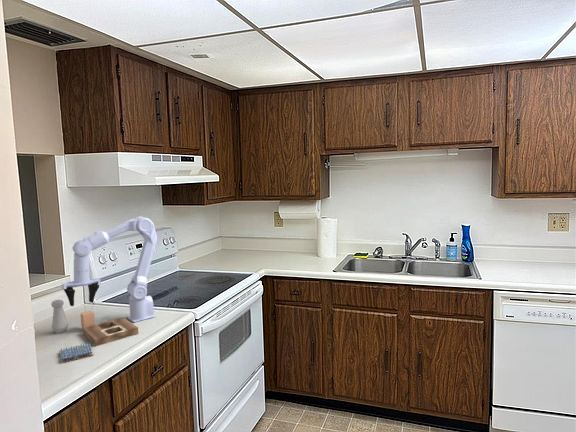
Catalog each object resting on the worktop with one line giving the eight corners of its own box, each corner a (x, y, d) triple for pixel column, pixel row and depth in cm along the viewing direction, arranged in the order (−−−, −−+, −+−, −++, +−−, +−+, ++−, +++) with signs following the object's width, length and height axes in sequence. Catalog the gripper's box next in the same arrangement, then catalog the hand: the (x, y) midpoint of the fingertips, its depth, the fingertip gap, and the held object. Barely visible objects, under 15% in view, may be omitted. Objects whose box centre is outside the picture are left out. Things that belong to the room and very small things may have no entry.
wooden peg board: (124, 323, 178) (123, 317, 178) (138, 333, 166) (138, 327, 166) (83, 334, 168) (82, 327, 168) (95, 346, 156) (95, 339, 156)
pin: (92, 326, 176) (90, 310, 175) (95, 329, 173) (93, 312, 172) (81, 329, 173) (80, 312, 172) (84, 332, 170) (83, 315, 169)
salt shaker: (71, 328, 175) (68, 297, 173) (64, 333, 169) (61, 302, 167) (56, 329, 175) (53, 298, 173) (49, 334, 169) (46, 303, 167)
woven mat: (90, 346, 157) (90, 341, 157) (94, 357, 148) (94, 351, 148) (59, 354, 152) (58, 348, 151) (60, 365, 143) (60, 359, 142)
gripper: (94, 266, 178) (94, 298, 179) (58, 271, 167) (58, 305, 168) (103, 269, 173) (102, 301, 174) (66, 274, 162) (66, 309, 163)
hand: (81, 303), depth 170 cm, fingers open, 7 cm apart
